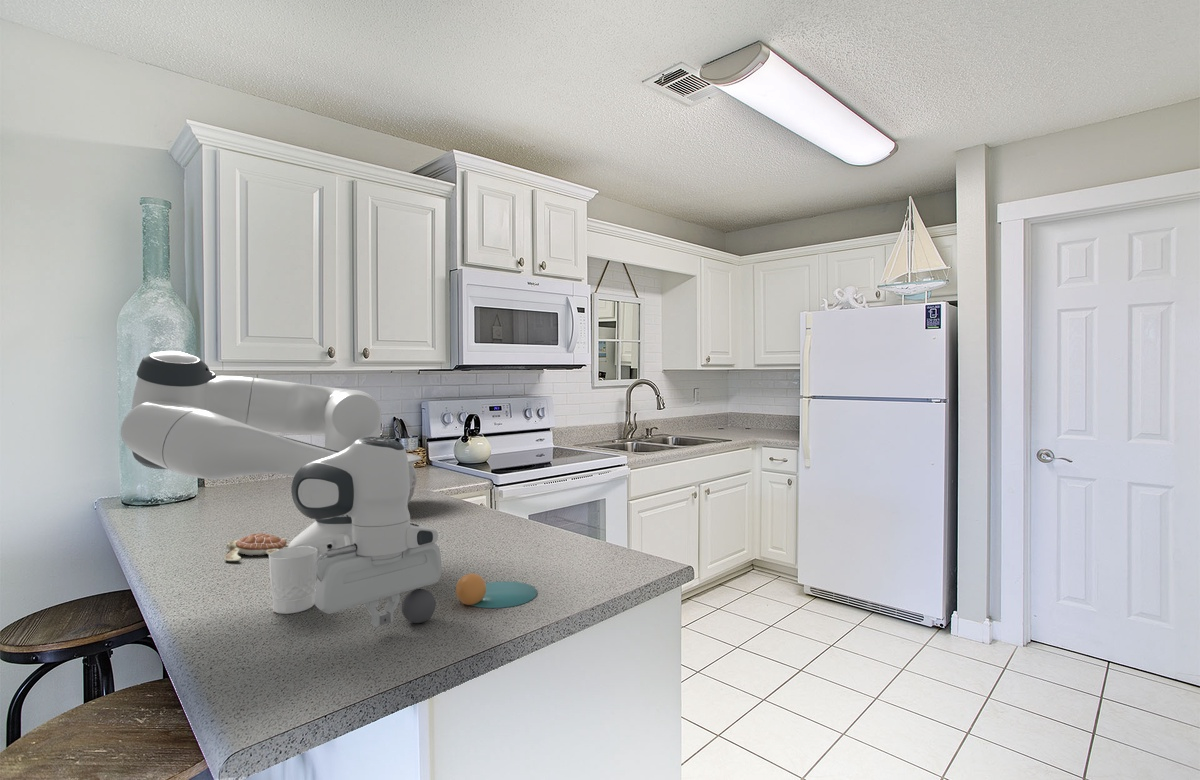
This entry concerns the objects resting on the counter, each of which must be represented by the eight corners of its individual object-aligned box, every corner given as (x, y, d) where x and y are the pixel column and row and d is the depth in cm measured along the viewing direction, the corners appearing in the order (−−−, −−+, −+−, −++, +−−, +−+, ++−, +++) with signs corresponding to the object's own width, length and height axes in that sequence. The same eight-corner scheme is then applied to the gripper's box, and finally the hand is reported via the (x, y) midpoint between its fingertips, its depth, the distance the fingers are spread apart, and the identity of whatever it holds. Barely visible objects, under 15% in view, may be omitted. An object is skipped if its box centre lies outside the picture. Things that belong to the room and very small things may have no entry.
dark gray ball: (426, 577, 103) (444, 596, 105) (398, 588, 103) (417, 607, 106) (420, 604, 98) (439, 623, 101) (392, 615, 99) (411, 634, 101)
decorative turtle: (252, 543, 155) (252, 524, 155) (313, 545, 153) (313, 525, 153) (198, 565, 137) (197, 543, 137) (267, 567, 135) (266, 544, 135)
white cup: (281, 600, 113) (280, 546, 113) (324, 598, 113) (324, 545, 113) (261, 616, 105) (260, 559, 105) (308, 614, 106) (307, 557, 105)
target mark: (493, 614, 105) (493, 613, 105) (447, 595, 115) (447, 594, 115) (552, 593, 116) (552, 592, 116) (505, 577, 125) (505, 576, 125)
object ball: (466, 565, 109) (488, 569, 113) (446, 581, 111) (469, 584, 115) (472, 593, 106) (495, 596, 110) (452, 609, 107) (475, 611, 111)
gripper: (325, 556, 87) (326, 651, 87) (446, 529, 102) (447, 611, 103) (306, 548, 91) (307, 639, 92) (425, 524, 107) (426, 602, 107)
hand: (382, 624), depth 97 cm, fingers closed
